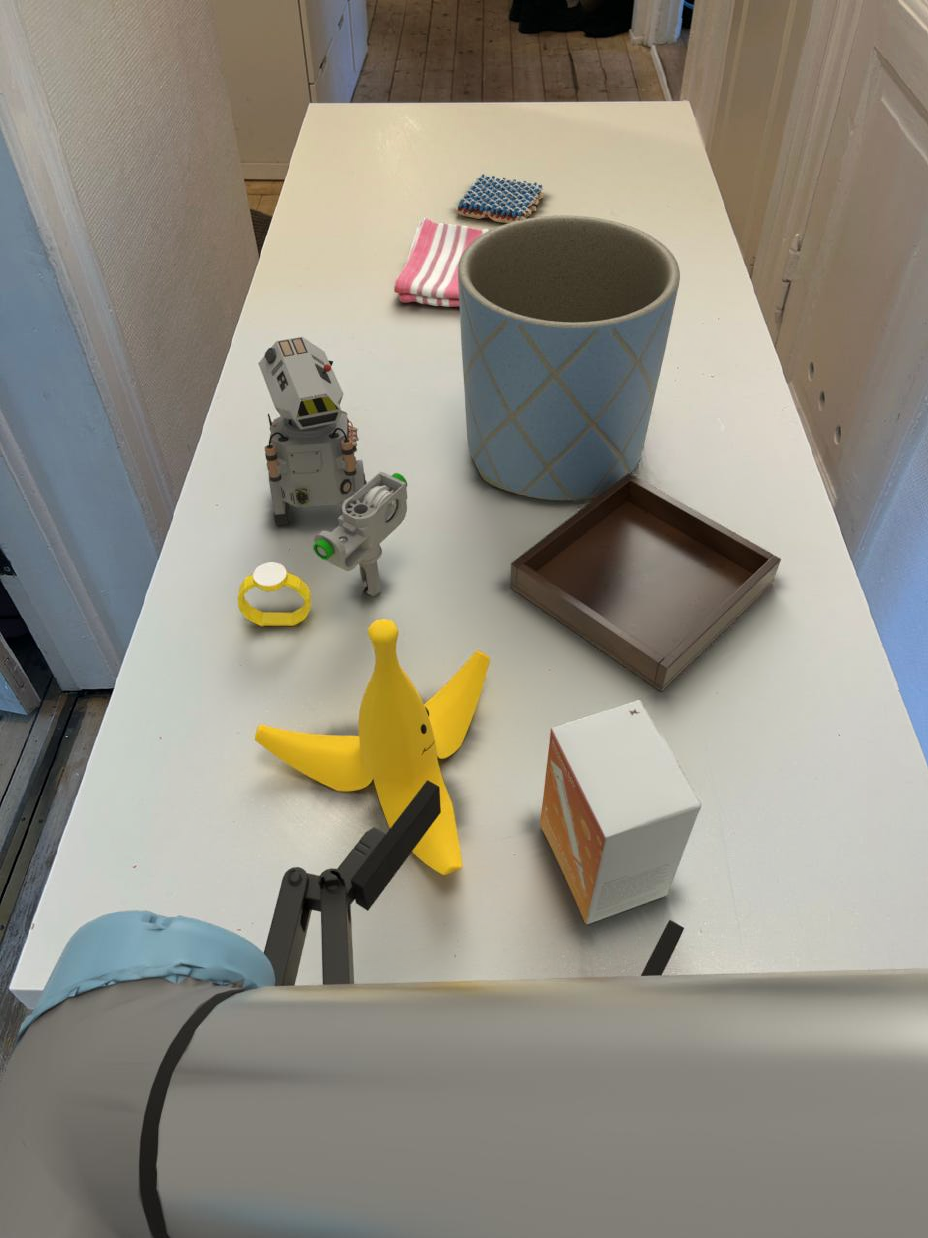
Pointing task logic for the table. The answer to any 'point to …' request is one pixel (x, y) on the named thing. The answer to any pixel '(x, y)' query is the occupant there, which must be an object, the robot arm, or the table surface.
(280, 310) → the table surface
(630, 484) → the wooden tray
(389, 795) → the banana peel
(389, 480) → the mechanical component
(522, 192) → the woven mat
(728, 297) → the table surface
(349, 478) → the figurine
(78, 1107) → the robot arm
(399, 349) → the table surface
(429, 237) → the dish towel
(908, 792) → the table surface
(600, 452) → the planter
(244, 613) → the watch
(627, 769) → the small box
